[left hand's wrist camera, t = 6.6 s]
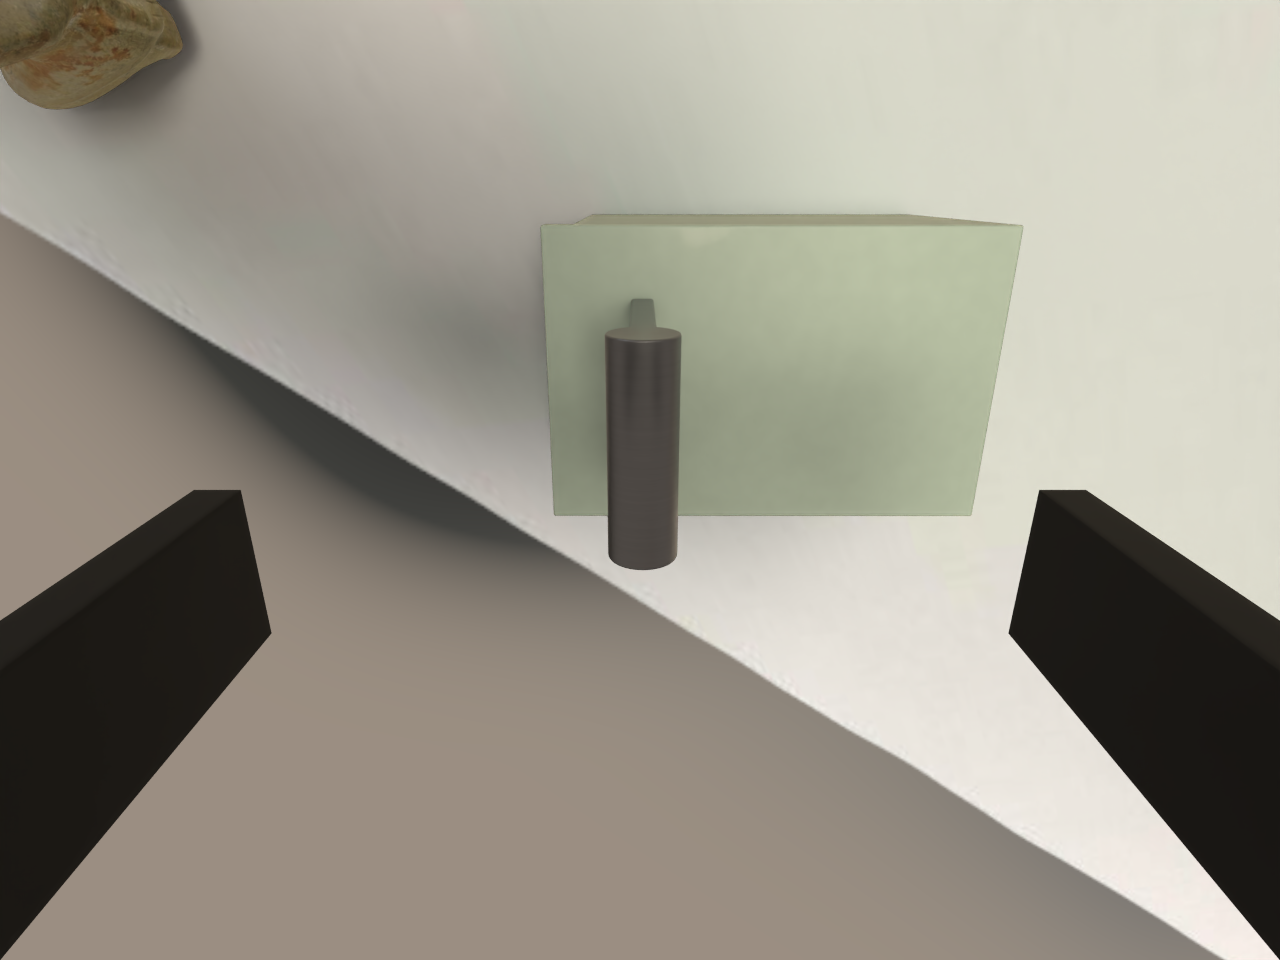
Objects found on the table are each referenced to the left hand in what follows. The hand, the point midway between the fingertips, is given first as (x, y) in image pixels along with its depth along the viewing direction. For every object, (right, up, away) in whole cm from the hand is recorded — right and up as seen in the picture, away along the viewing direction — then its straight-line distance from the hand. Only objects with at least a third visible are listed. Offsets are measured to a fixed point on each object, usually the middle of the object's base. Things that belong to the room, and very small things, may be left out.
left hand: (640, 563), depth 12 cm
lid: (+4, +5, +12) cm, 14 cm away
